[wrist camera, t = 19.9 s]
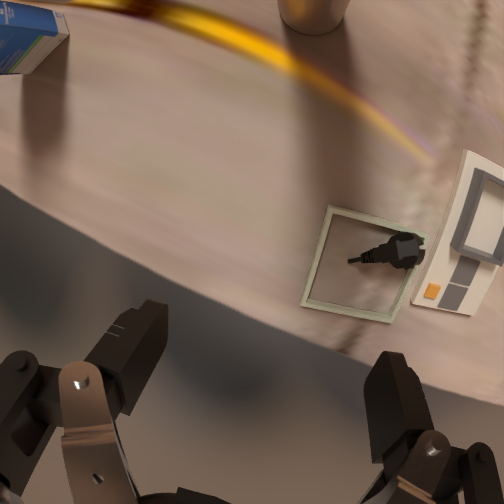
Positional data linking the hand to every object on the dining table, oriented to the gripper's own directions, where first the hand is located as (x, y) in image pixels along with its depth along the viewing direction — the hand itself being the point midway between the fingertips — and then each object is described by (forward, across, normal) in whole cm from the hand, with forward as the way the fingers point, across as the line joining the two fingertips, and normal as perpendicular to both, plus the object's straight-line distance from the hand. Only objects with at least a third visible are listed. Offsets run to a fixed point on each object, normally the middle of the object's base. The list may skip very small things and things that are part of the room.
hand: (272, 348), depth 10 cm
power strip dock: (+36, -34, +2) cm, 50 cm away
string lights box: (+36, +52, -21) cm, 67 cm away
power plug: (+38, -14, +12) cm, 42 cm away
